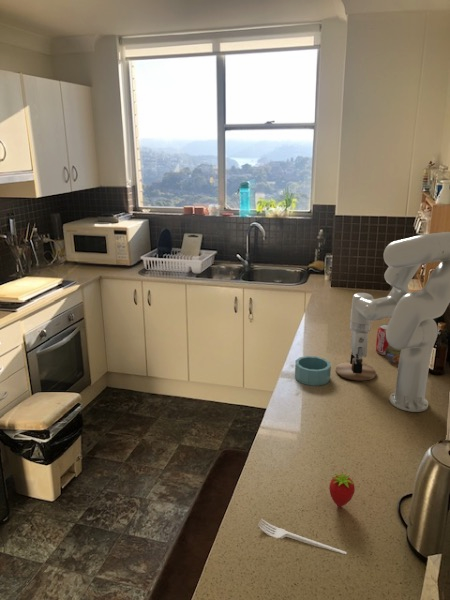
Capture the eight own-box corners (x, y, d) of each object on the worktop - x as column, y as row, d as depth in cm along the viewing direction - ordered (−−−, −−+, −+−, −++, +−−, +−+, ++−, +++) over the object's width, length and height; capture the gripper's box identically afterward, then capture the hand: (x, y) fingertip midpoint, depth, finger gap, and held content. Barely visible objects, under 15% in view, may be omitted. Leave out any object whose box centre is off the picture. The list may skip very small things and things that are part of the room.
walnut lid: (378, 383, 179) (380, 369, 177) (337, 381, 180) (339, 366, 179) (371, 366, 193) (373, 352, 191) (333, 364, 195) (334, 350, 193)
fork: (345, 562, 102) (346, 555, 102) (256, 533, 109) (256, 526, 109) (347, 550, 105) (348, 544, 105) (260, 523, 112) (261, 516, 111)
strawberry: (354, 499, 119) (358, 465, 116) (350, 520, 113) (354, 484, 110) (330, 493, 121) (333, 459, 118) (325, 513, 115) (328, 478, 112)
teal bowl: (330, 386, 176) (332, 371, 174) (295, 384, 177) (296, 369, 175) (327, 371, 188) (328, 357, 186) (294, 369, 190) (295, 355, 188)
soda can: (393, 356, 202) (396, 330, 198) (376, 355, 203) (379, 328, 200) (391, 350, 208) (394, 324, 205) (374, 348, 210) (377, 323, 206)
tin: (383, 361, 198) (386, 342, 195) (385, 358, 200) (387, 339, 198) (422, 369, 191) (425, 349, 188) (423, 366, 194) (426, 346, 191)
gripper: (374, 334, 172) (369, 379, 177) (366, 318, 188) (362, 359, 194) (353, 333, 173) (348, 378, 178) (347, 317, 189) (343, 358, 195)
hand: (355, 368), depth 186 cm, fingers open, 7 cm apart
